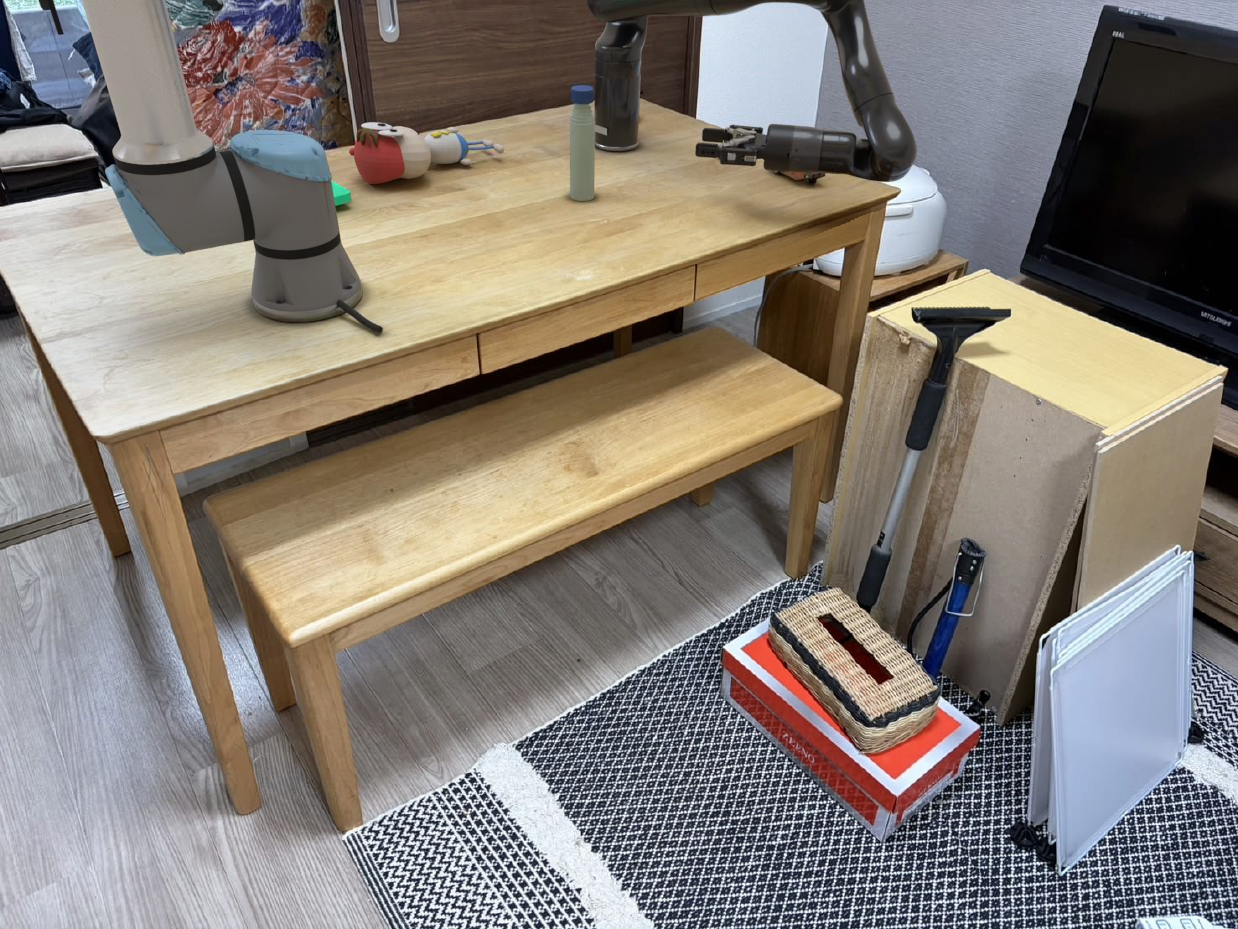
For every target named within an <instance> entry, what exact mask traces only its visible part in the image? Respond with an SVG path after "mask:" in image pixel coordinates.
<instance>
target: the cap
mask: <svg viewBox="0 0 1238 929" xmlns="http://www.w3.org/2000/svg"><path fill="white" fill-rule="evenodd" d="M570 102H571V103H572V104H574V105H575V104H590V105H591V104H592V103H594V102H595V90H594V87H593V86H591V85H586V84H578V85H572V86H571V87H570Z"/></svg>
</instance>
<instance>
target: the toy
mask: <svg viewBox="0 0 1238 929" xmlns="http://www.w3.org/2000/svg"><path fill="white" fill-rule="evenodd" d="M360 127H361V128H359V129H358V130H357V131H356V136H355V138H356V140H355V143H354V147H351V148H350V149H349V150H348V153H349V155H350V156H353V159H354V163H355V166H356V168H357V171H358V173H359V175H360V176H361V178H362V180H363V181H364V182H365V183H367V184H370V185H377V184H383V183H388V182H391V181H394V180H398V179H400V178H401V179H406V180H410V179H416V178H419V177H421V176H422V175H424V174H425V173H426V172H427V170H428V169H429V168H430V164H431V163H435V164H439V165H449V164H454V163H457V162H460V164H462V165H463V166H465V165H466V166H467V165H468V166H469V165H471V164H472V163H473V161H472V159H470V158H466V157H467V156H468V153H469V151H483V150H484V151H485V150H492V149H493V150H494V151H495V152H497V153H498V154H503V153H505V147H504V146H503V145H502V144H499V143H493V141H492V140H490V139H485V138H484V139H482V140H480V141H473V142H472V141H469V142H468V141H467V140H466V139H465V137H463V135H461V134H459V133H458V132H459V129H458V128H457V127H455V126H450V127H447V128H444V129H441V130H437V131H433V132H429V133H427V134H426V135H425V136H422V135H421V133H420V132H419V131H418V130H416V129H413V128H410V127H407V126H406V125H403V126H401V125H396V126H392V125H390V124H388V123H384V122H377V121H376V122H373V121H371V122H364V123H362V124H361V125H360ZM476 145H477V146H478V145H483V146H478V147H477V146H476ZM469 146H470V147H469ZM471 146H472V147H471ZM473 146H474V147H473ZM475 146H476V147H475Z"/></svg>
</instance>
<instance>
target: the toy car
mask: <svg viewBox="0 0 1238 929" xmlns="http://www.w3.org/2000/svg"><path fill="white" fill-rule="evenodd" d="M772 172H773V174H776V175H782V176H785V177H787V178H789V179H791V180H794V181H796V182H805V181H807V184H809V185H811V186H814V185H815V184H816V183H817V181H818V180H819V179H822V178H824V177H826V173H796V172H783V171H772Z"/></svg>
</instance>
